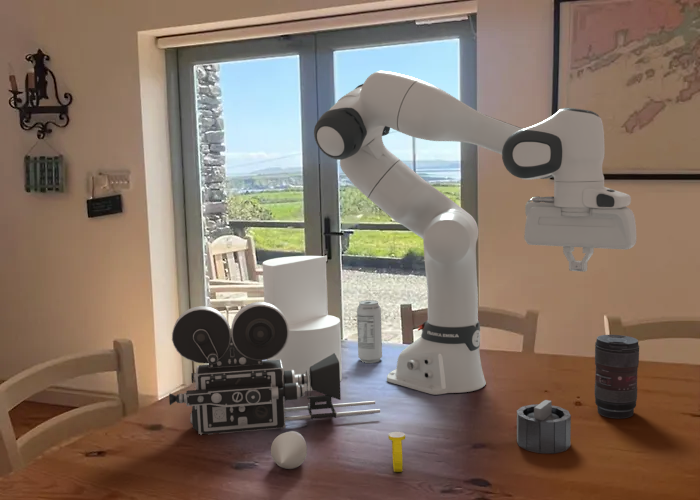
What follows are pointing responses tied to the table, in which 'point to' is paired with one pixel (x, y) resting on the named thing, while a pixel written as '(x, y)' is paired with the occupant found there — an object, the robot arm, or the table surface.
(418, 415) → the table surface
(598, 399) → the camera lens
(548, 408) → the grey dial knob
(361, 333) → the energy drink can
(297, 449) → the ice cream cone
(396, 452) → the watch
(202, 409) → the film camera
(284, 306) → the cylinder
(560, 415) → the faceted grey ring
